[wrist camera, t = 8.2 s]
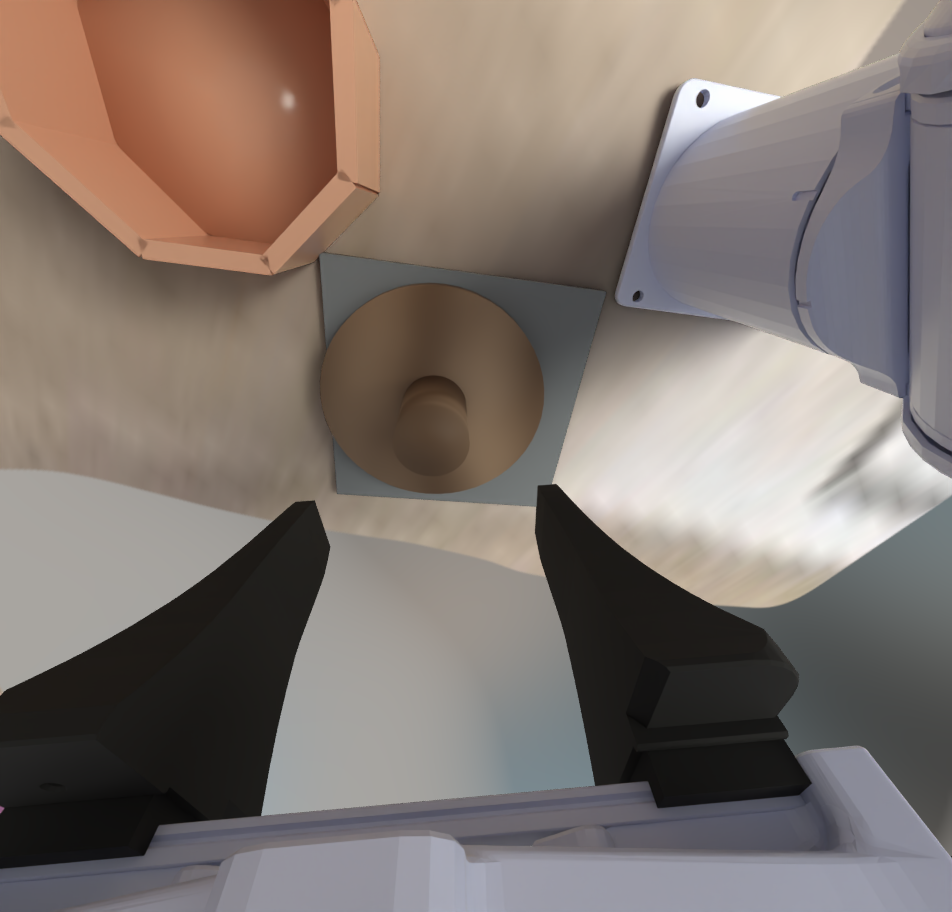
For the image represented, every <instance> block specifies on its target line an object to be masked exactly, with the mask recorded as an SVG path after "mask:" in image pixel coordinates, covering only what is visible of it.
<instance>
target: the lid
mask: <svg viewBox="0 0 952 912" xmlns="http://www.w3.org/2000/svg"><path fill="white" fill-rule="evenodd" d="M320 396H321V403H322V409H323V412H324V415H325V419H326V422H327V424H328V426H329V428H330V431H331V433H332V435H333V436H334V438H335V439H336V441H337V443H338V444H339V446H340V447H341V448H342V449H343V451H344V452H345V453H346V454H347V456H348V457H349V458H350V459H351V460H352V461H353V462H354V463H356V464H357V465H358V466H359V467H360V468H362V469H363V470H364V471H365V472H367V473H368V474H370V475H372V476H373V477H375V478H377V479H378V480H380V481H382V482H385V483H387V484H389V485H391V486H394V487H397V488H400V489H403V490H407V491H412V492H417V493H425V494H446V493H455V492H460V491H465V490H468V489H471V488H475V487H477V486H480V485H482V484H484V483H487V482H489V481H490V480H492V479H494V478H496V477H498V476H499V475H500V474H502V473H503V472H505V471H506V470H507V469H509V468H510V467H511V466H512V465H513V464H514V463H515V462H516V461H517V460H518V459H519V458H520V457H521V455H522V454H523V453H524V452H525V451H526V449H527V447H528V446H529V444H530V443H531V441H532V440H533V437H534V435H535V433H536V431H537V429H538V426H539V423H540V420H541V417H542V411H543V406H544V382H543V375H542V371H541V367H540V363H539V361H538V358H537V356H536V353H535V351H534V349H533V347H532V345H531V343H530V342H529V340H528V338H527V337H526V335H525V334H524V332H523V331H522V329H521V328H520V327H519V326H518V324H517V323H516V322H515V321H514V319H513V318H512V317H510V316H509V315H508V314H507V313H506V312H505V311H504V310H503V309H502V308H501V307H499V306H498V305H496V304H495V303H494V302H492V301H491V300H489V299H487V298H485V297H483V296H482V295H480V294H478V293H476V292H473V291H470V290H467V289H465V288H462V287H458V286H453V285H448V284H440V283H419V284H410V285H406V286H401V287H397V288H394V289H392V290H389V291H386V292H384V293H382V294H380V295H378V296H376V297H374V298H373V299H371V300H369V301H368V302H366V303H365V304H364V305H363V306H361V307H360V308H359V309H357V310H356V311H355V312H354V313H353V314H352V315H351V316H350V317H349V318H348V319H347V320H346V321H345V322H344V324H343V325H342V326H341V327H340V329H339V330H338V331H337V333H336V334H335V336H334V337H333V339H332V341H331V343H330V345H329V347H328V349H327V351H326V355H325V358H324V361H323V364H322V370H321V377H320Z"/></svg>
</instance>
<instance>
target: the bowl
mask: <svg viewBox="0 0 952 912" xmlns="http://www.w3.org/2000/svg"><path fill="white" fill-rule="evenodd" d="M0 135H1V136H2V137H3V138H5V139H6V140H7V141H8V142H9V143H10V144H11V145H12V146H14V147H15V148H16V149H17V150H18V151H19V152H20V153H21V154H23V155H24V156H25V157H26V158H27V159H28V160H29V161H31V162H32V163H33V164H34V165H35V166H36V167H37V168H38V169H40V170H41V171H42V172H43V173H44V174H45V175H46V176H48V177H49V178H50V179H51V180H52V181H53V182H54V183H55V184H57V185H58V186H59V187H60V188H61V189H62V190H63V191H65V192H66V193H67V194H68V195H69V196H70V197H71V198H72V199H74V200H75V201H76V202H77V203H78V204H79V205H80V206H81V207H83V208H84V209H85V210H86V211H87V212H88V213H89V214H91V215H92V216H93V217H94V218H95V219H96V220H97V221H98V222H100V223H101V224H102V225H103V226H104V227H105V228H106V229H108V230H109V231H110V232H111V233H112V234H113V235H114V236H115V237H117V238H118V239H119V240H120V241H121V242H122V243H123V244H125V245H126V246H127V247H128V248H129V249H130V250H131V251H132V252H134V253H135V254H136V255H137V256H138V257H141V256H142V257H143V259H146V260H154V261H162V262H170V263H178V264H186V265H194V266H201V267H209V268H217V269H225V270H233V271H241V272H248V273H256V274H264V275H274V274H277V273H280V272H283V271H287V270H290V269H293V268H297V267H300V266H303V265H306V264H310V263H313V262H314V261H315V260H316V259H317V258H318V257H319V254H320V253H323V252H324V251H325V250H326V249H327V248H328V247H329V246H330V245H331V244H332V243H333V242H334V241H335V240H336V239H337V238H338V237H339V236H340V235H341V234H342V233H343V232H344V231H345V230H346V229H347V228H348V227H349V226H350V225H351V224H352V223H353V222H354V221H355V220H356V218H357V217H358V216H359V215H360V214H361V213H362V212H363V211H364V210H365V209H366V208H367V207H368V206H369V205H370V204H371V203H372V202H373V201H374V200H375V199H376V198H377V197H378V194H377V193H376V192H380V57H379V55H378V51H377V49H376V46H375V44H374V41H373V39H372V37H371V34H370V32H369V29H368V27H367V25H366V22H365V20H364V17H363V15H362V13H361V10H360V8H359V5H358V3H357V1H356V0H0Z"/></svg>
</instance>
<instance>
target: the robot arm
mask: <svg viewBox="0 0 952 912" xmlns="http://www.w3.org/2000/svg"><path fill="white" fill-rule="evenodd" d="M699 92H701V93H702V94H703V96H704V102H703V105H702V106H701V108H699V107H697V105H696V97H697V95H698V93H699ZM636 291H639V292H640V297H639V298H638V299H637V300H636V301H633V295H634V293H635V292H636ZM615 300H616V302H617V303H618V304H620V305H622V306H626V307H634V308H641V309H649V310H656V311H664V312H671V313H679V314H687V315H694V316H702V317H709V318H717V319H724V320H732V321H735V322H738V323H741V324H744V325H746V326H749V327H752V328H755V329H758V330H761V331H764V332H766V333H769V334H772V335H775V336H778V337H781V338H784V339H787V340H789V341H792V342H795V343H798V344H801V345H804V346H807V347H809V348H812V349H815V350H818V351H821V352H824V353H827V354H830V355H834V356H836V357H838V358H841V359H843V360H845V361H848V362H850V363H851V364H852V365H853V366H854V367H855V368H856V370H857V371H858V374H859V378H860V382H861V383H863V384H866V385H868V386H871V387H873V388H876V389H878V390H881V391H883V392H886V393H889V394H891V395H894V396H896V397H899V398H903V405H902V413H901V424H902V430H903V433H904V435H905V437H906V439H907V441H908V443H909V445H910V446H911V448H912V449H913V450H914V451H915V452H916V453H917V454H918V455H919V456H920V457H921V458H922V459H923V460H924V461H925V462H927V463H928V464H929V465H931V466H932V467H934V468H935V469H936V470H938V471H939V472H941V473H942V474H944V475H946V476H948V477H950V478H952V0H940V1H939V2H938V4H937V5H936V6H935V8H934V9H933V10H932V12H931V13H930V15H929V16H928V18H927V19H926V20H925V21H924V22H922V23H921V24H920V25H919V26H918V28H916V29H915V30H914V31H913V33H912V34H911V35H910V36H909V37H908V39H907V40H906V41H905V43H904V44H903V46H902V48H901V50H900V52H899V53H898V54H896V55H893V56H890V57H888V58H885V59H882V60H879V61H877V62H874V63H872V64H869V65H866V66H863V67H861V68H858V69H855V70H853V71H850V72H847V73H845V74H842V75H839V76H837V77H834V78H831V79H829V80H826V81H823V82H820V83H818V84H815V85H812V86H810V87H807V88H804V89H802V90H799V91H796V92H794V93H791V94H788V95H786V96H783V97H781V96H776V95H771V94H767V93H762V92H757V91H752V90H748V89H743V88H738V87H734V86H729V85H724V84H720V83H715V82H710V81H706V80H701V79H696V78H693V79H689V80H687V81H686V82H684V83H682V84H681V85H680V86H679V87H678V88H677V90H676V92H675V94H674V96H673V100H672V103H671V106H670V110H669V113H668V117H667V120H666V123H665V127H664V130H663V133H662V137H661V140H660V144H659V147H658V150H657V154H656V157H655V160H654V164H653V167H652V170H651V174H650V177H649V181H648V184H647V187H646V191H645V194H644V197H643V201H642V204H641V208H640V211H639V214H638V218H637V221H636V224H635V228H634V231H633V235H632V238H631V241H630V245H629V248H628V251H627V255H626V258H625V262H624V265H623V268H622V272H621V275H620V278H619V282H618V285H617V289H616V292H615ZM535 535H536V540H537V545H538V550H539V555H540V560H541V563H542V566H543V569H544V572H545V575H546V578H547V581H548V584H549V587H550V590H551V593H552V596H553V599H554V602H555V605H556V608H557V611H558V615H559V618H560V621H561V624H562V627H563V631H564V634H565V639H566V643H567V648H568V652H569V656H570V661H571V665H572V670H573V674H574V679H575V684H576V689H577V693H578V698H579V703H580V708H581V713H582V718H583V723H584V728H585V733H586V738H587V744H588V749H589V755H590V760H591V765H592V771H593V776H594V782H595V786H589V787H577V788H566V789H556V790H544V791H533V792H522V793H511V794H500V795H488V796H478V797H466V798H456V799H444V800H433V801H422V802H411V803H400V804H389V805H378V806H366V807H356V808H344V809H333V810H322V811H311V812H300V813H289V814H278V815H267V816H261V813H262V807H263V801H264V796H265V790H266V784H267V779H268V773H269V768H270V762H271V758H272V753H273V748H274V743H275V738H276V733H277V728H278V724H279V719H280V715H281V711H282V706H283V702H284V698H285V693H286V689H287V685H288V682H289V678H290V674H291V670H292V666H293V662H294V658H295V655H296V652H297V649H298V646H299V642H300V640H301V637H302V635H303V632H304V629H305V626H306V624H307V621H308V618H309V616H310V613H311V610H312V608H313V605H314V602H315V599H316V597H317V594H318V591H319V589H320V586H321V583H322V580H323V577H324V574H325V569H326V565H327V561H328V556H329V551H330V544H329V541H328V539H327V536H326V533H325V530H324V527H323V524H322V521H321V518H320V515H319V512H318V509H317V506H316V503H315V501H302V502H295V503H294V504H292V505H291V506H290V507H289V508H287V509H286V510H285V511H284V512H283V513H282V514H281V515H279V516H278V517H277V518H276V519H275V520H274V521H273V522H272V523H270V524H269V525H268V526H267V527H266V528H265V529H264V530H262V531H261V532H260V533H259V534H258V535H257V536H256V537H254V538H253V539H252V540H251V541H250V542H249V543H248V544H247V545H245V546H244V547H243V548H242V549H241V550H239V551H238V552H237V553H235V554H234V555H233V556H232V557H231V558H229V559H228V560H227V561H226V562H224V563H223V564H222V565H221V566H220V567H218V568H217V569H216V570H215V571H213V572H212V573H210V574H209V575H208V576H206V577H205V578H204V579H202V580H201V581H200V582H199V583H197V584H196V585H194V586H193V587H191V588H190V589H188V590H187V591H185V592H184V593H183V594H181V595H180V596H178V597H177V598H175V599H174V600H172V601H171V602H169V603H167V604H166V605H164V606H163V607H161V608H159V609H158V610H156V611H155V612H153V613H151V614H150V615H148V616H147V617H145V618H143V619H142V620H140V621H138V622H137V623H135V624H134V625H132V626H130V627H128V628H127V629H125V630H123V631H121V632H120V633H118V634H116V635H114V636H113V637H111V638H109V639H107V640H105V641H104V642H102V643H100V644H98V645H96V646H94V647H93V648H91V649H89V650H87V651H85V652H83V653H82V654H79V655H77V656H75V657H73V658H71V659H70V660H68V661H66V662H63V663H61V664H59V665H57V666H55V667H53V668H51V669H49V670H47V671H45V672H43V673H41V674H39V675H37V676H35V677H33V678H31V679H28V680H26V681H25V682H22V683H20V684H18V685H16V686H14V687H12V688H9V689H7V690H6V691H4V692H3V693H2V695H1V696H0V806H1V807H3V808H4V810H3V811H2V812H1V813H0V912H952V858H951V857H950V855H949V854H948V853H947V852H946V850H945V849H944V848H943V847H942V845H941V844H940V843H939V842H938V840H937V839H936V838H935V836H934V835H933V834H932V833H931V831H930V830H929V829H928V827H927V826H926V825H925V824H924V823H923V821H922V820H921V819H920V817H919V816H918V815H917V813H916V812H915V811H914V810H913V808H912V807H911V806H910V805H909V803H908V802H907V801H906V800H905V798H904V797H903V796H902V795H901V793H900V792H899V791H898V789H897V788H896V787H895V785H894V784H893V783H892V782H891V780H890V779H889V778H888V777H887V775H886V774H885V773H884V771H883V770H882V769H881V768H880V766H879V765H878V764H877V763H876V761H875V760H874V759H873V757H872V756H871V755H870V754H869V752H868V751H867V750H866V749H865V748H863V747H861V746H849V747H838V748H828V749H827V748H826V749H816V750H809V751H805V752H802V753H800V754H797V755H796V756H794V755H793V753H792V751H791V750H790V748H789V747H788V745H787V744H786V742H785V740H784V739H787V737H788V731H787V730H786V728H785V726H784V725H783V723H782V722H781V720H780V719H779V717H778V716H777V715H778V714H779V712H780V711H781V710H782V708H783V707H784V706H785V705H786V703H787V702H788V701H789V699H790V698H791V697H792V696H793V694H794V692H795V690H796V689H797V687H798V682H799V674H798V672H797V671H796V670H795V668H794V667H793V665H792V664H791V663H790V661H789V660H788V659H787V657H786V656H785V655H784V653H783V652H782V651H781V649H780V648H779V647H778V645H777V644H776V643H775V642H774V641H773V639H772V638H771V637H770V636H769V635H768V634H767V633H766V631H765V630H764V629H762V628H760V627H758V626H756V625H754V624H752V623H750V622H747V621H745V620H743V619H741V618H739V617H737V616H735V615H732V614H730V613H728V612H726V611H724V610H722V609H720V608H718V607H716V606H714V605H712V604H710V603H708V602H706V601H704V600H702V599H701V598H699V597H697V596H695V595H693V594H691V593H690V592H688V591H686V590H684V589H683V588H681V587H679V586H677V585H676V584H674V583H672V582H671V581H669V580H668V579H666V578H665V577H663V576H661V575H660V574H658V573H657V572H655V571H654V570H652V569H651V568H649V567H648V566H646V565H645V564H643V563H642V562H641V561H639V560H638V559H636V558H635V557H634V556H632V555H631V554H630V553H628V552H627V551H626V550H624V549H623V548H622V547H621V546H619V545H618V544H617V543H616V542H615V541H613V540H612V539H611V538H610V537H609V536H608V535H606V534H605V533H604V532H603V531H602V530H601V529H600V528H599V527H598V526H597V525H596V524H595V523H594V522H593V521H591V520H590V519H589V518H588V517H587V516H586V515H585V514H584V513H583V512H582V511H581V510H580V509H579V508H578V507H577V505H576V504H575V503H574V502H573V501H572V500H571V499H570V498H569V497H568V496H567V495H566V494H565V493H564V492H563V490H562V489H561V488H560V487H559V486H558V485H557V484H550V485H538V487H537V506H536V524H535Z"/></svg>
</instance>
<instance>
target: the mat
mask: <svg viewBox="0 0 952 912" xmlns="http://www.w3.org/2000/svg"><path fill="white" fill-rule="evenodd" d="M319 257H320V271H321V284H322V298H323V311H324V325H325V338H326V351H327V349H328V347H329V345H330V343H331V341H332V339H333V337H334V336H335V334H336V333H337V331H338V330H339V329H340V327H341V326H342V325H343V324H344V322H345V321H346V320H347V319H348V318H349V317H350V316H351V315H352V314H353V313H354V312H355V311H356V310H357V309H359V308H360V307H361V306H363V305H364V304H365V303H366V302H368V301H369V300H371V299H373V298H374V297H376V296H378V295H380V294H382V293H384V292H386V291H389V290H392V289H394V288H397V287H401V286H406V285H410V284H419V283H440V284H448V285H453V286H458V287H462V288H465V289H467V290H470V291H473V292H476V293H478V294H480V295H482V296H483V297H485V298H487V299H489V300H491V301H492V302H494V303H495V304H496V305H498V306H499V307H501V308H502V309H503V310H504V311H505V312H506V313H507V314H508V315H509V316H510V317H512V318H513V319H514V321H515V322H516V323H517V324H518V326H519V327H520V328H521V329H522V331H523V332H524V334H525V335H526V337H527V338H528V340H529V342H530V343H531V345H532V347H533V349H534V351H535V353H536V356H537V358H538V361H539V363H540V367H541V371H542V375H543V382H544V406H543V411H542V417H541V420H540V423H539V426H538V429H537V431H536V433H535V435H534V437H533V440H532V441H531V443H530V444H529V446H528V447H527V449H526V451H525V452H524V453H523V454H522V455H521V457H520V458H519V459H518V460H517V461H516V462H515V463H514V464H513V465H512V466H511V467H510V468H509V469H507V470H506V471H505V472H503V473H502V474H500V475H499V476H498V477H496V478H494V479H492V480H490V481H489V482H487V483H484V484H482V485H480V486H477V487H475V488H471V489H468V490H465V491H460V492H455V493H446V494H425V493H417V492H412V491H407V490H403V489H400V488H397V487H394V486H391V485H389V484H387V483H385V482H382V481H380V480H378V479H377V478H375V477H373V476H372V475H370V474H368V473H367V472H365V471H364V470H363V469H362V468H360V467H359V466H358V465H357V464H356V463H354V462H353V461H352V460H351V459H350V458H349V457H348V456H347V454H346V453H345V452H344V451H343V449H342V448H341V447H340V446H339V444H338V443H337V441H336V439H335V438H334V436H333V446H334V459H335V473H336V486H337V494H346V495H361V496H377V497H393V498H409V499H424V500H440V501H456V502H472V503H488V504H503V505H519V506H535V507H536V506H537V487H538V485H550V484H552V481H553V477H554V474H555V470H556V467H557V463H558V460H559V456H560V453H561V449H562V446H563V442H564V439H565V435H566V432H567V428H568V425H569V421H570V418H571V414H572V411H573V407H574V404H575V400H576V397H577V393H578V390H579V386H580V383H581V379H582V376H583V372H584V369H585V365H586V362H587V358H588V355H589V351H590V348H591V344H592V341H593V337H594V334H595V330H596V327H597V323H598V320H599V316H600V313H601V309H602V306H603V302H604V298H605V295H606V291H603V290H596V289H589V288H581V287H574V286H567V285H559V284H552V283H545V282H537V281H530V280H523V279H515V278H508V277H501V276H493V275H486V274H479V273H472V272H464V271H457V270H450V269H442V268H435V267H428V266H420V265H413V264H406V263H398V262H391V261H384V260H376V259H369V258H362V257H354V256H347V255H340V254H332V253H325V252H323V253H320V254H319Z"/></svg>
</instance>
